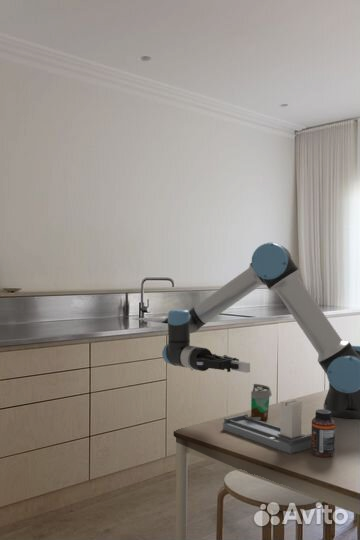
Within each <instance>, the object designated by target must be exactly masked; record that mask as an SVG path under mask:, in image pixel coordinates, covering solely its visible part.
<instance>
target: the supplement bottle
mask: <svg viewBox="0 0 360 540" xmlns="http://www.w3.org/2000/svg"><path fill="white" fill-rule="evenodd" d="M311 434H312V436H311V448H310V450H311V453H312V454H313V455H315V456H316V457H322V458H330V457H333V456H334V455H335V450H336V449H335V446H336V445H335V443H336V435H335V434H336V423H335V420H334V419H332V415H331V411H329V410H325V409H324V408H321V409H316V410H315V416H314V417H313V418H312V420H311Z"/></svg>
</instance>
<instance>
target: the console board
mask: <svg viewBox="0 0 360 540" xmlns="http://www.w3.org/2000/svg"><path fill="white" fill-rule="evenodd" d="M222 430H223V431H226V432H229V433H232V434H235V435H237V436H240V437H242V438H245V439H248V440H252V441H255V442H257V443H260V444H263V445H265V446H268V447H271V448H273V449H276V450H279V451H281V452H284V453H287V454H290V455H292V454H294V453H295V454H296V453H297V452H301V451H303V450H307V449H311V436H312V433H309V434H306V435H305V434H302V433H301V434H302V435H304V436H302V437H299V438H295V439H292V440H289V439H286V438H283V437H280V436H278V434H279V433H280V426H277V425H273V424H271V423H267V422H266V421H264V422H262V421H259V420H256V419H252V418H251V417H249V415H248V414H247V413H242V414H239V415H234V416H230V417H225V418H224V419H223V423H222Z"/></svg>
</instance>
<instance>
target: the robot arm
mask: <svg viewBox="0 0 360 540" xmlns="http://www.w3.org/2000/svg"><path fill="white" fill-rule="evenodd" d="M299 275H300V269H299V267H297V265H296V263H295V261H294V259H292V255H291V253H290V251H289V250H288V249H287V248H286V247H285V246H283V245H281V244H279V243H277V242H272V241H271V242H266V243H263V244H261V245H260V246H258V247H257V248H256V249H255V250H254V251H253V254H252V256H251V262H250V263H249V266H248V267H247V269H245V270H244V271H242V272H241V273H239V274H238V275H237V276H235V277H234V278H233V279H232V280H230V281H228V282H227V283H226V284H224V285H222V287H220V288H219V289H217V290H216V291H214V293H212V294H210V295H208V297H206V298H205V299H203V300H202V301H201V302H199V303H198V304H197V305H195V306H194V307H193V308H191V309H189V310H188V309H171V310H169V311H168V313H167V332H168V333H167V335H168V337H167V338H168V340H167V341H168V342H167V343H166V344H165V345H164V347H163V348H162V349H163V350H162V351H161V353H162V354H161V355H162V359H163V360H164V361H165V363H167V364H169V365H172V366H175V367H182V368H187V369H189V370H190V371H193V370H195V371H200V372H205V371H208V370H209V369H214V370H219V371H225V370H226V372H227V373H231V370H232V371H237V372H242V373H246V374H247V373H250V372H251V363H250V362H246V361H240V359H239V358H237V357H231V356H228V355H226V354H224V355H222V356H221V355H217V354H216V353H212V351H211V350H210V349H208V348H206V347H200V346H195V345H190V344H191V341H190V340H191V339H190V337H191V335H190V334H193V333H196V332H198V331H199V330H200V329H201V328H202V327H203V326H205V325H206V324H207V323H208V322H210V321H212V320H213V319H214V318H217V316H218V315H221V314H222V313H223V312H225V311H226V310H228V309H229V308H230V307H232V306H233V305H235V304H236V303H237V302H239V301H240V300H242V299H243V298H244V297H246V296H248V295H250V294H251V293H252V292H254V291H255V290H256V289H257V288H260V286H266V287H267V288H268V290H269V291H272V292H276V293H277V295H278V296H279V298H280V299H281V301H282V302H283V304H284V305H285V306H286V308H287V309H288V311H289V313H290V315H291V316H292V317H293V319H294V320H295V321H296V323H297V324H298V326H299V328H300V329H301V330H302V331H303V333H304V335H305V336H306V338H307V340H308V341H309V342H310V343H311V345H312V347H313V348H314V350H315V351H316V352H317V354H318V357H317V363H319V365H320V367H321V368H322V370H323V371H324V373H325V374H326V376H327V377H326V378H327V379H328V390H327V394H326V397H325V399H324V403H323V409H325V410H329V411H331V417H332V416H333V417H337V418H343V419H360V345H352V344H351V342H350V341H347V340H343V339H342V338H341V336H340V334H338V332H337V331H336V329H335V328H334V326H333V325H332V324H331V322H330V321H329V319H328V318H327V316H326V315H325V313H324V311H323V310H322V309H321V307H320V306H319V305H318V303H317V302H316V301H315V299H314V297H313V296H312V295H311V293H310V292H309V290H308V289H307V287H306V285H304V283H303V281H302V280H301V278H299Z"/></svg>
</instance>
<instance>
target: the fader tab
mask: <svg viewBox="0 0 360 540" xmlns="http://www.w3.org/2000/svg"><path fill="white" fill-rule="evenodd" d="M302 404H303V402H301V401H298V400H295V399H285V400H280V420H279V421H280V422H279V423H280V426H279V427H280V433H279V434H278V436H280V437H283V438H286V439H289V440H292V439H295V438H299V437H302V436H304V435H305V434H303V435H302V411H303V410H302V408H303V405H302Z"/></svg>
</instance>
